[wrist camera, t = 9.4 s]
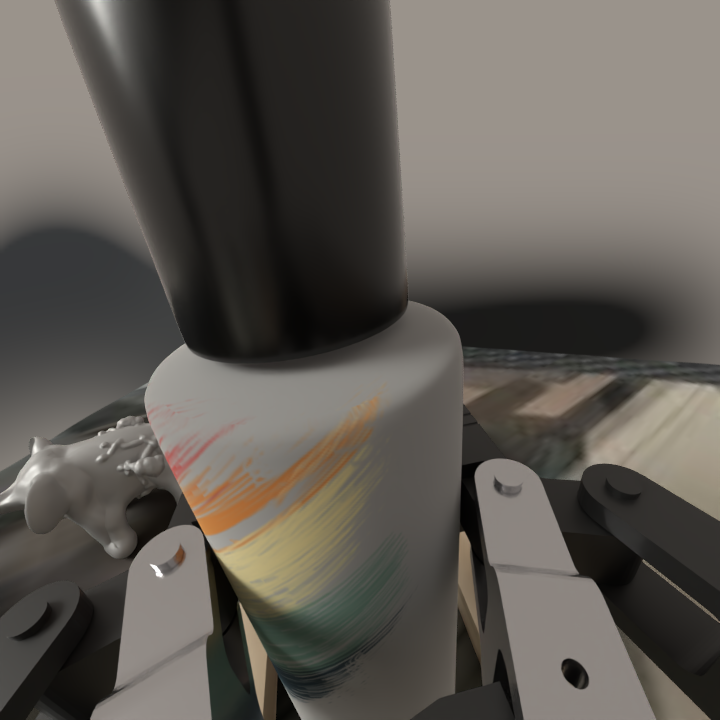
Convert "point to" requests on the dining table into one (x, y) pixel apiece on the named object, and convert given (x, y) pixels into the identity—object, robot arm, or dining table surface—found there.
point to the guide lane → (268, 676)
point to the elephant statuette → (92, 483)
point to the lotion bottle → (293, 331)
